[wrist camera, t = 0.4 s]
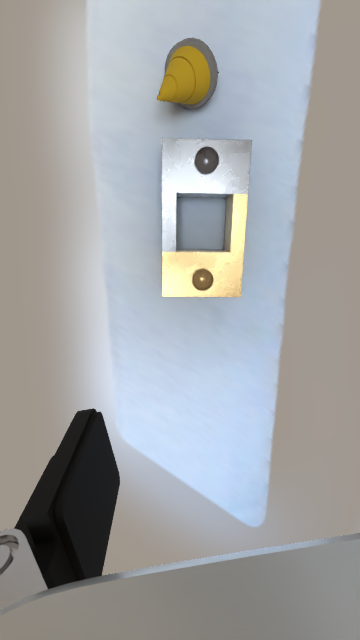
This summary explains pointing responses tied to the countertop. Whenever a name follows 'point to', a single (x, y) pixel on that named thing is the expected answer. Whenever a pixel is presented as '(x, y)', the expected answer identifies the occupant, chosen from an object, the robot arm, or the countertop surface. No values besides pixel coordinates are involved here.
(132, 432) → the countertop surface
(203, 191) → the metal strike plate
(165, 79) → the yellow tiered cone
